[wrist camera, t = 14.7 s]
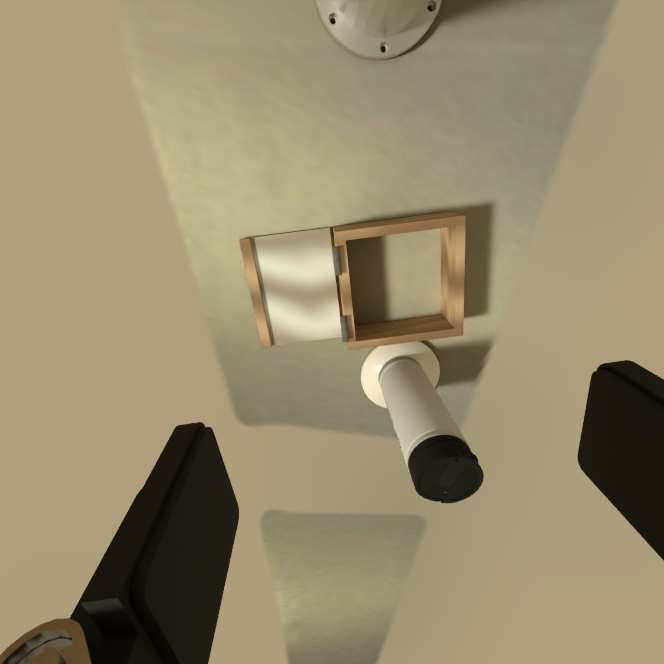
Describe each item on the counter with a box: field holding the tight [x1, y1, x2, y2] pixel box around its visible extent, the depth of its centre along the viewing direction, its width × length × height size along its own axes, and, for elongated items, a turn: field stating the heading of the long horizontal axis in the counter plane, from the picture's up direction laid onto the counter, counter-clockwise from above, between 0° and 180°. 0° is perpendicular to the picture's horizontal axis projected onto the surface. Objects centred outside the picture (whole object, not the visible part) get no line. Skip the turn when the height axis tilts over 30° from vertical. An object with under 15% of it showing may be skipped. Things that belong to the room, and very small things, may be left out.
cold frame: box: [239, 212, 466, 350], centre depth 43 cm, size 14×25×6 cm, turn 97°
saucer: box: [361, 341, 440, 408], centre depth 51 cm, size 11×11×1 cm
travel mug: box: [378, 356, 484, 503], centre depth 41 cm, size 6×7×20 cm
